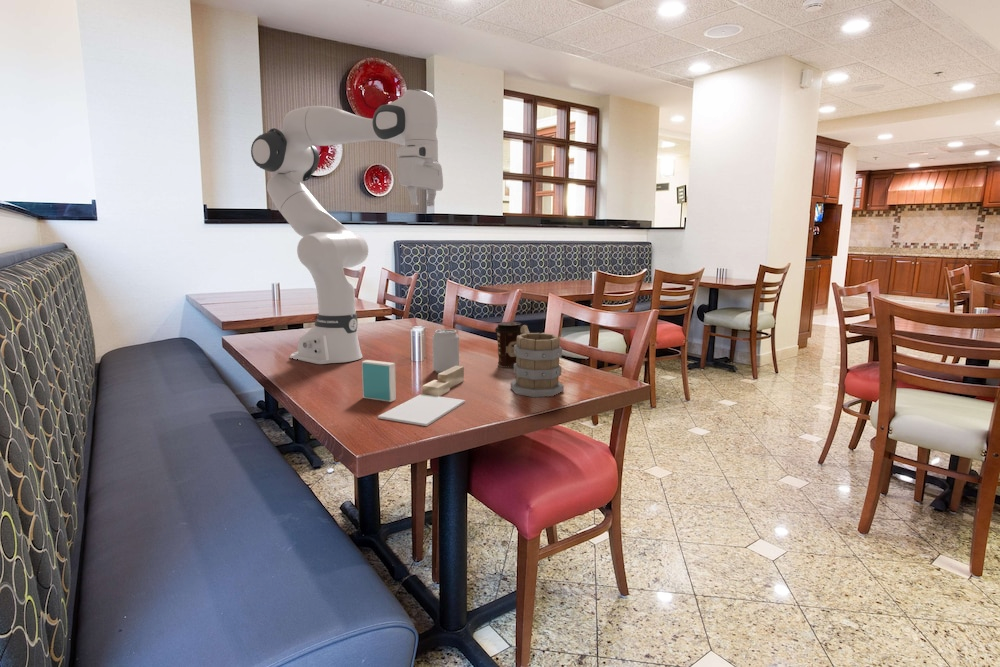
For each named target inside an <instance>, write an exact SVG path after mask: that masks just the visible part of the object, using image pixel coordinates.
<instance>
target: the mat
mask: <svg viewBox="0 0 1000 667" xmlns="http://www.w3.org/2000/svg"><path fill="white" fill-rule="evenodd" d="M464 403H466V399H460V398H459V399H458V398H453V397H445V396H432V395H425V394H423V393H420V394H418V395H416V396H414V397H412V398H410V399H409V400H407V401H404V402H403V403H401V404H397V406H395V407H393V408H391V409H389V410H387V411H385V412H383V413H380V414H379V415H377V419H381V420H387V421H392V422H399V423H405V424H411V425H416V426H422V427H423V426H424V427H428V426H430V425H431V424H433V423H434V422H436V421H437V420H439V419H440V418H442V417H444V416H445V415H447V414H449V413H450V412H452V411H453V410H455V409H456V408H457V409H458V407H460V406H461V405H463V404H464Z"/></svg>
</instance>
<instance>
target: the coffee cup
mask: <svg viewBox="0 0 1000 667" xmlns="http://www.w3.org/2000/svg"><path fill="white" fill-rule="evenodd" d="M522 326H523V323H521V322H517V321H503V322H498V323H497V326H496V328H495V329H494V330H495V333H496V335H497V336H496V338H497V340H496V341H497V355H498V360H497V361H498V362H497V365H498V366H499V367H501V368H514V364H515V363H516V355H515V354H514V345H516V344H517V336H518V335H521V330H520V329H521V327H522Z"/></svg>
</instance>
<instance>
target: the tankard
mask: <svg viewBox="0 0 1000 667" xmlns="http://www.w3.org/2000/svg"><path fill="white" fill-rule="evenodd" d="M521 326H522V327H521V329H520V330H521V335H518V336H517V344H516V345H514V354H515V355H516V363H515V364H514V367H513V374H515V379H514V380H512V381H511V382H510V388H511V390H512V391H513V392H514V394H515V395H520V396H525V397H530V398H546V397H545V396H551V397H555V396H557V395H559V394H561V393H563V392H564V391H565V390H564V388H565V386H564V385H563V383H561V382H560V381H559V377H560V376H561V375H562V366H561V365H560V358H561V357H563V347H561V344H560V342H561V340H560V337H559V336H557V335H556V334H553V333H552V334H551V333H544V332H531V331H529V328H528V325H527V324H522V325H521ZM562 391H563V392H562ZM560 392H561V393H560ZM558 393H559V394H558ZM556 394H557V395H556ZM554 395H555V396H554Z"/></svg>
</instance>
